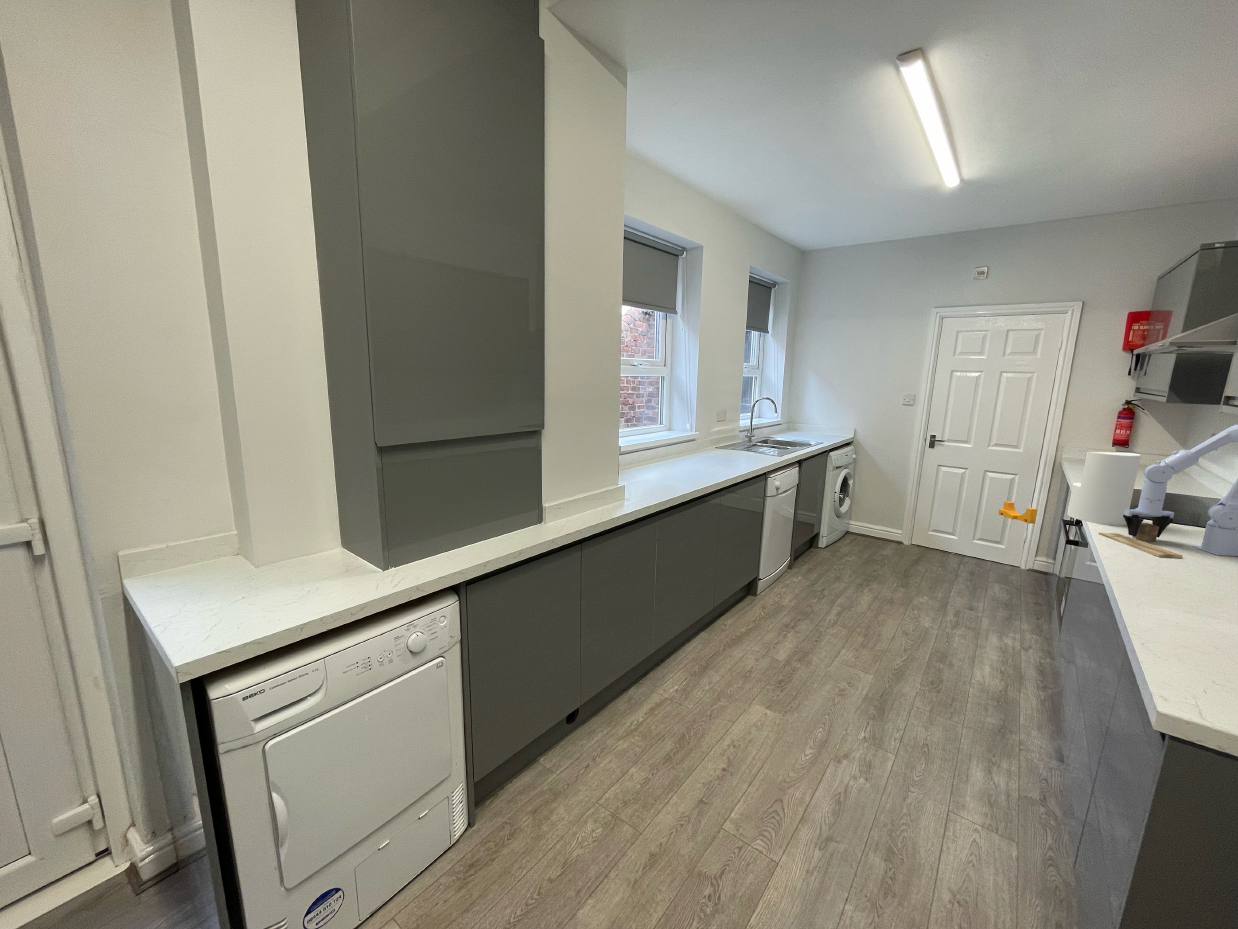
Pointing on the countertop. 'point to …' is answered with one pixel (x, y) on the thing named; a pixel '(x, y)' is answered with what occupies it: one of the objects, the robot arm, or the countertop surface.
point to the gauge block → (1147, 532)
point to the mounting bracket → (1012, 514)
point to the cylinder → (1104, 488)
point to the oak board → (1142, 545)
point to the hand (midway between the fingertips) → (1143, 536)
